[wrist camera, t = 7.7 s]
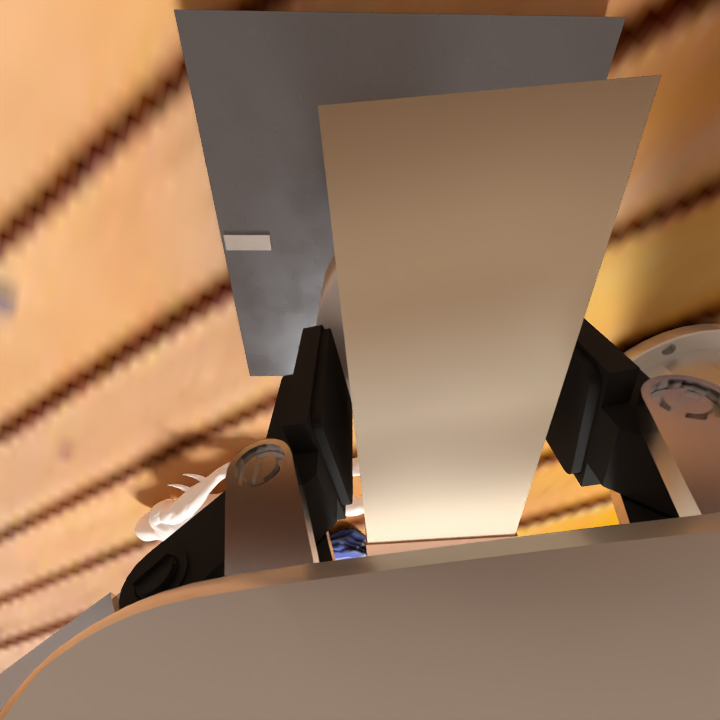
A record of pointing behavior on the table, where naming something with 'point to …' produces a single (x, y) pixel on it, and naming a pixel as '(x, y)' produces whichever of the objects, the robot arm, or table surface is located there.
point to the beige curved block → (466, 287)
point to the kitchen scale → (303, 135)
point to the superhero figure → (201, 505)
